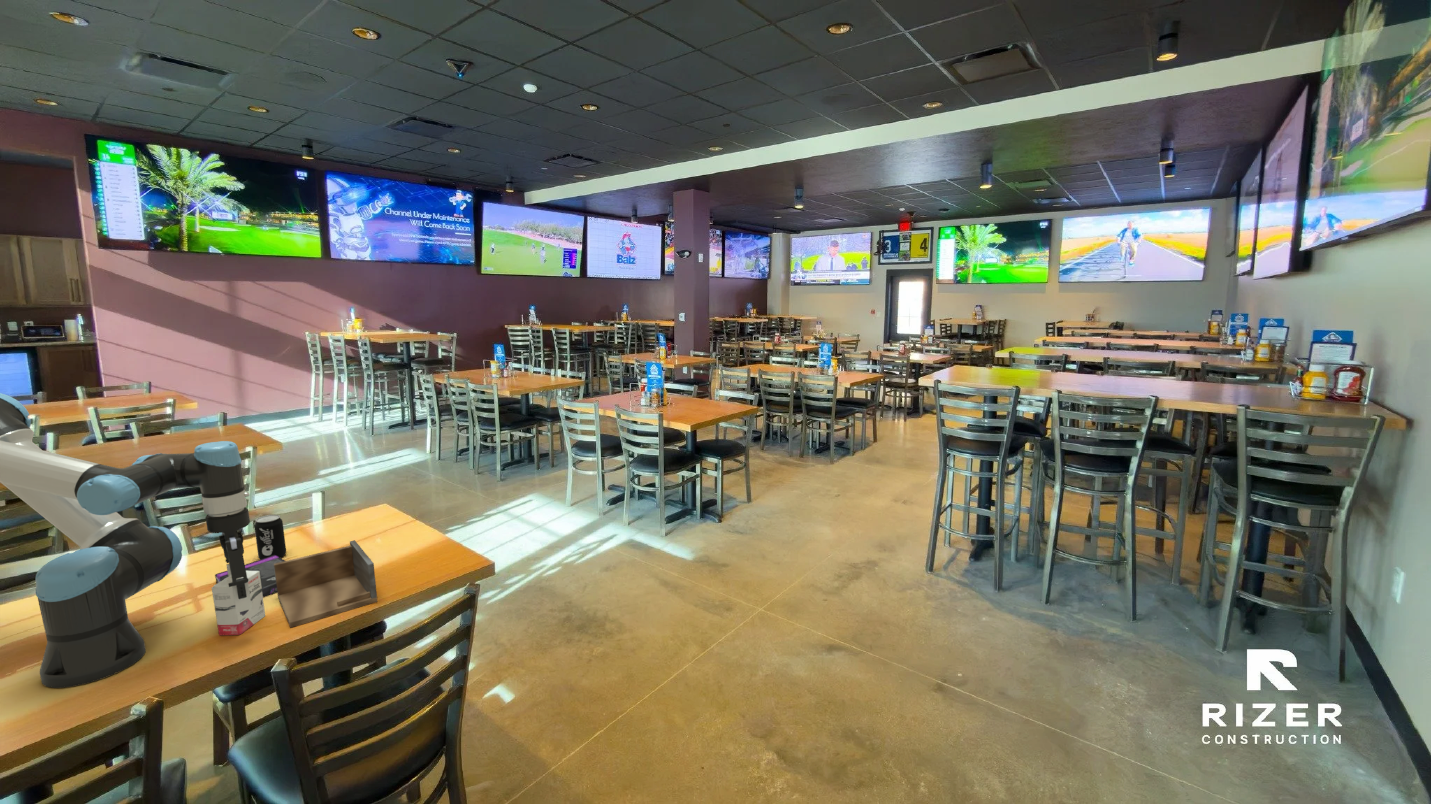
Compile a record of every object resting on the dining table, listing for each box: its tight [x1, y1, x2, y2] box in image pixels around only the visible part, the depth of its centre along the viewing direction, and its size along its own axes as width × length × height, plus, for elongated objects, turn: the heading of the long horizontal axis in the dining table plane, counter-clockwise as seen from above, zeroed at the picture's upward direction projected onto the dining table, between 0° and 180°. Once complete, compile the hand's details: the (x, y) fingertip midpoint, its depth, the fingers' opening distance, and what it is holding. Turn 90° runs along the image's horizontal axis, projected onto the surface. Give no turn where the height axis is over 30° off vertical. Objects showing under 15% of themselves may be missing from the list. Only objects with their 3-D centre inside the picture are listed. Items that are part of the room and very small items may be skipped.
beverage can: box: [253, 514, 287, 560], centre depth 175 cm, size 7×7×12 cm
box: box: [214, 555, 286, 598], centre depth 161 cm, size 14×4×20 cm
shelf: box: [274, 540, 378, 628], centre depth 152 cm, size 18×19×10 cm
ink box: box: [211, 571, 266, 636], centre depth 139 cm, size 8×5×12 cm, turn 2°
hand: (241, 599), depth 139 cm, fingers open, 13 cm apart
